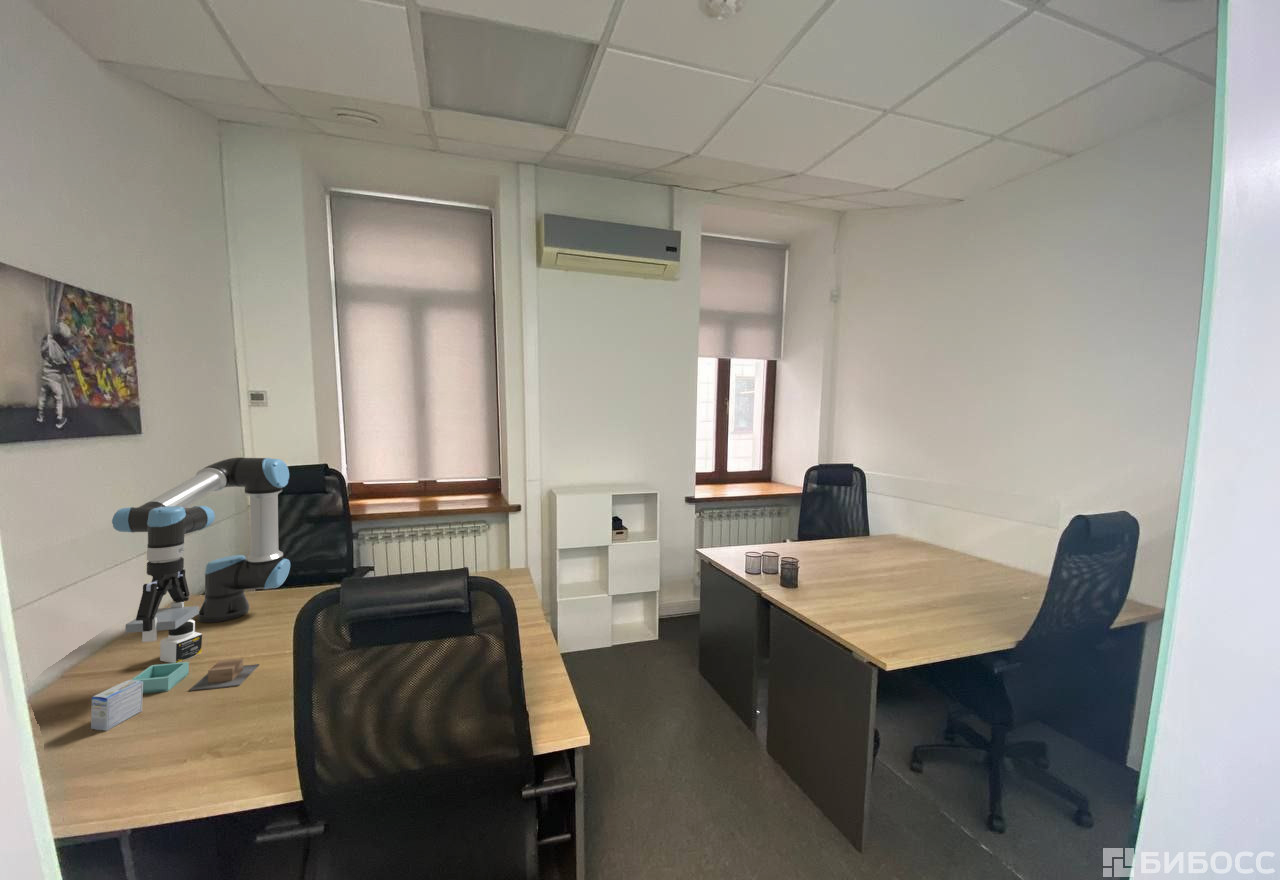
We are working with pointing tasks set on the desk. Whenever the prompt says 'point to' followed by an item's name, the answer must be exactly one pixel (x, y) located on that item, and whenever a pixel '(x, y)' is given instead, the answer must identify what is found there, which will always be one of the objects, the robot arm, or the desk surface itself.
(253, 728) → the desk surface
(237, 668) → the stand
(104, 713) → the medicine box
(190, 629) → the medicine bottle
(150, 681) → the dish
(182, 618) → the cover plate
